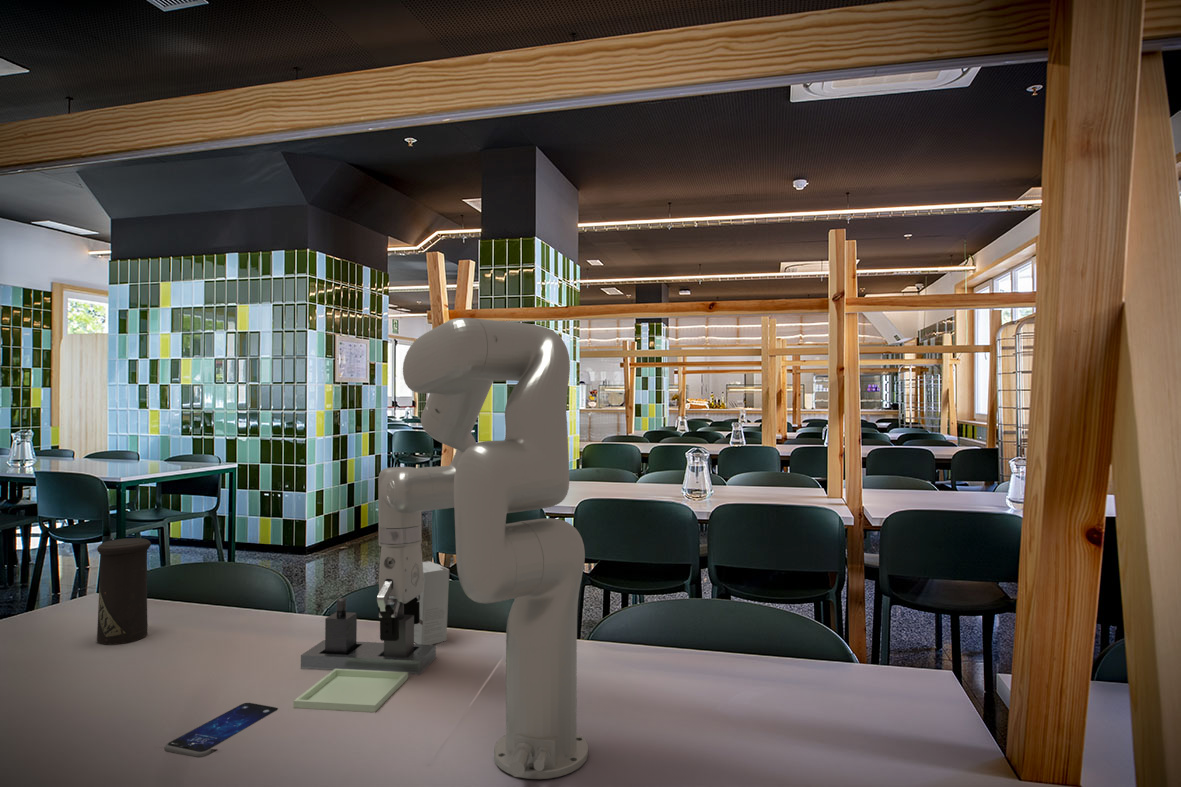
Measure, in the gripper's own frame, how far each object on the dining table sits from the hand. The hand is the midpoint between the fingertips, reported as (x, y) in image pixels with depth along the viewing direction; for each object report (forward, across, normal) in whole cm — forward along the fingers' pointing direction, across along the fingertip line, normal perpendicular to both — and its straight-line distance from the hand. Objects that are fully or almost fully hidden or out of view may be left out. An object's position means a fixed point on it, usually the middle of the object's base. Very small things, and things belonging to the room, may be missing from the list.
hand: (400, 631), depth 123 cm
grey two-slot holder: (+6, 0, +6) cm, 9 cm away
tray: (+7, -12, +3) cm, 14 cm away
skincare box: (+6, +16, +1) cm, 17 cm away
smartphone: (+7, -26, +16) cm, 31 cm away
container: (+5, +8, +62) cm, 63 cm away
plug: (+6, 0, 0) cm, 6 cm away
